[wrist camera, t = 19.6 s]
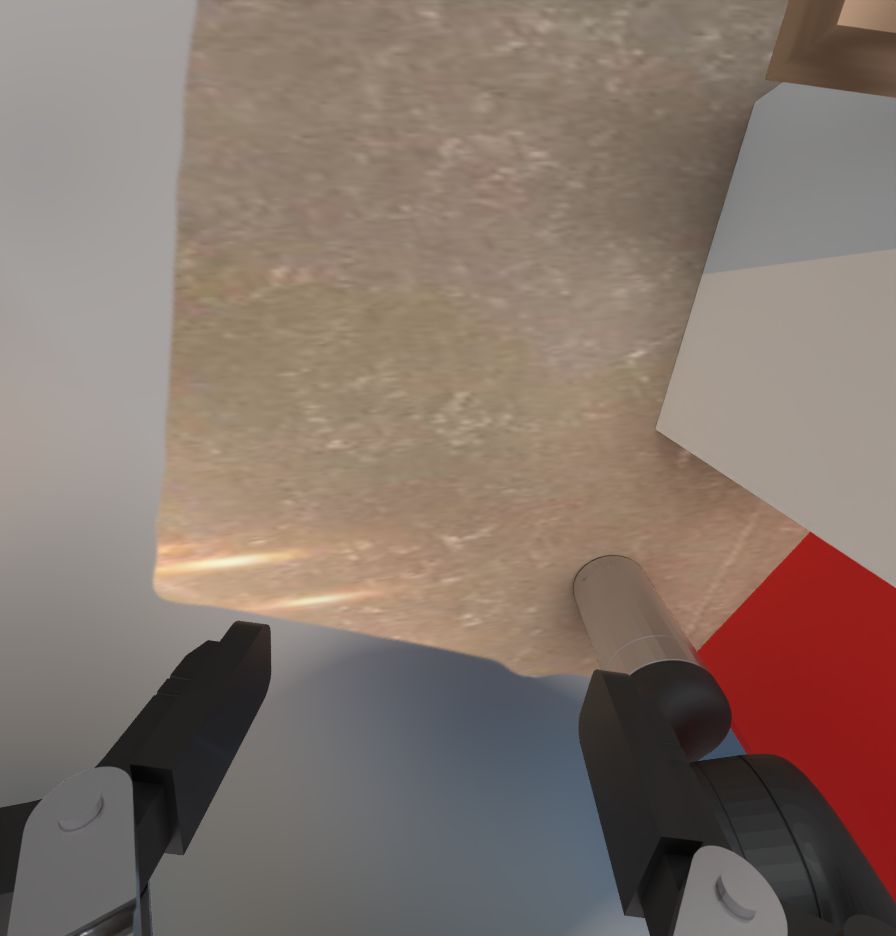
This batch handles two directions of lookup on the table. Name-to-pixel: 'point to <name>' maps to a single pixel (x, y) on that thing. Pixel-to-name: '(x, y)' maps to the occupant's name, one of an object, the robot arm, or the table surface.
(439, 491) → the table surface
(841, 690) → the book
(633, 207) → the table surface
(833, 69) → the handled cube
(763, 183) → the riser
